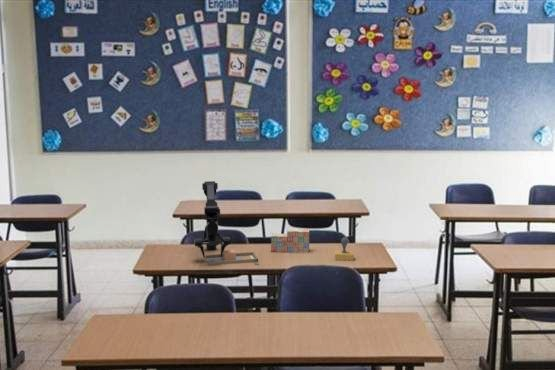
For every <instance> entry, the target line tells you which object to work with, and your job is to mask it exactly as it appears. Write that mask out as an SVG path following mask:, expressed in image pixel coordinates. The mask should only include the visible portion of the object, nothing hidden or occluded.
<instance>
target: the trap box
mask: <svg viewBox="0 0 555 370" xmlns="http://www.w3.org/2000/svg"><path fill="white" fill-rule="evenodd" d="M246 256H249V257H250V258H246V259H245V258H244V259H243V257H246ZM205 259H206V262H207V265H208V266H215V265H230V264H231V265H232V264H244V263H245V264H246V263H254V265H255V266H257V265H259V258H258V257H257V255H256V253H255V252H254V251H250V252H249V251H248V252H236V260H226V261H225V260H224V258H223V254H222V257H221V253H220V254H219V253H218V254H205Z"/></svg>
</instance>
